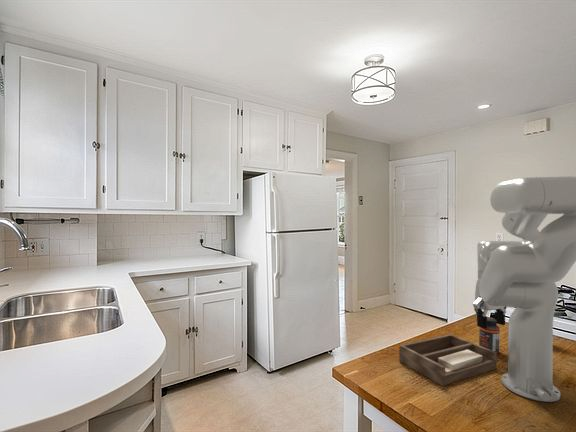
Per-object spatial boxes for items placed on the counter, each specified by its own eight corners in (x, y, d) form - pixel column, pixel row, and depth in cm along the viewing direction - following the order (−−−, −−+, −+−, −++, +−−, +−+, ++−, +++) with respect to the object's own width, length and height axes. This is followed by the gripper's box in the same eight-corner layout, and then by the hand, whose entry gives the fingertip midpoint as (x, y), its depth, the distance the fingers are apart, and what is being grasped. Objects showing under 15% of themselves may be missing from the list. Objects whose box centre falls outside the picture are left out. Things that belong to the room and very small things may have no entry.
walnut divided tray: (496, 368, 94) (496, 352, 94) (442, 385, 84) (442, 367, 84) (450, 347, 108) (450, 333, 108) (399, 360, 98) (399, 345, 98)
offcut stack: (485, 369, 94) (485, 355, 94) (446, 383, 86) (446, 367, 86) (468, 362, 98) (468, 348, 98) (430, 374, 91) (430, 359, 91)
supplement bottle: (474, 348, 108) (475, 317, 108) (485, 345, 110) (486, 315, 110) (491, 355, 102) (492, 322, 102) (503, 352, 104) (503, 320, 104)
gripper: (494, 273, 113) (495, 320, 112) (463, 275, 106) (464, 325, 105) (516, 276, 106) (517, 326, 105) (485, 279, 99) (486, 332, 98)
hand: (491, 325), depth 105 cm, fingers open, 9 cm apart
